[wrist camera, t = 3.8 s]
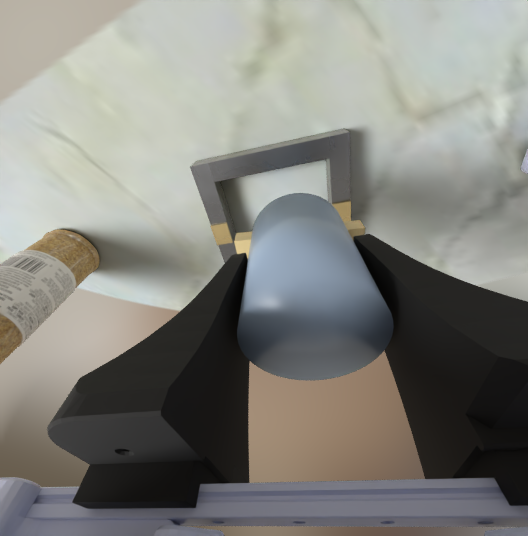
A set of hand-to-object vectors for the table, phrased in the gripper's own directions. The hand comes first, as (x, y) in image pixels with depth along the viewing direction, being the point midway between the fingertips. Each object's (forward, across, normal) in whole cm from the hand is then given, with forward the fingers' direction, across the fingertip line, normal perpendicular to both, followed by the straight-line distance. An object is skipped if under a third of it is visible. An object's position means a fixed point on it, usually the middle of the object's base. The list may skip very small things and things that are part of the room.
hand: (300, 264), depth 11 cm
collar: (+9, +1, +2) cm, 9 cm away
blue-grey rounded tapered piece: (+2, 0, 0) cm, 2 cm away
